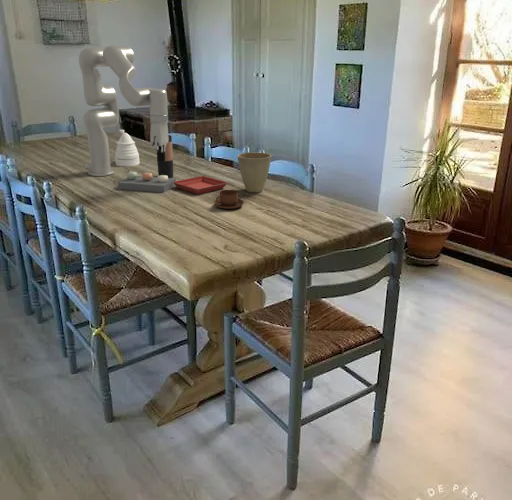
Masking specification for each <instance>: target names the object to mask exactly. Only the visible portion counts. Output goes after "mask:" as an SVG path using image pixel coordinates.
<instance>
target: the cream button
mask: <svg viewBox="0 0 512 500" xmlns="http://www.w3.org/2000/svg"><path fill="white" fill-rule="evenodd" d="M157 177H158V182H168V176H166V175H160V176H159V175H157Z"/></svg>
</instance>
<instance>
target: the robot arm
mask: <svg viewBox="0 0 512 500" xmlns="http://www.w3.org/2000/svg"><path fill="white" fill-rule="evenodd" d="M135 58H136V56H135V53H134V50H133V49H132V48H131V47H130V46H128V45H109V46H104V47H103V46H92V47H85V48H83V49H82V50H81V51H80V53H79V55H78V64H79V69H80V72H81V74H82V75H81V76H82V85H83V86H82V87H83V95H84V101H85V103H86V104H87V105H88V106H91V107H98V108H91V109H88V110H86V111H85V112H84V113H83V117H82V119H83V124H84V127H85V130H86V136H87V144H88V152H89V161H90V164H87V163H86V164H84V166H83V167H84V169H85V170H88V173H87V174H88V175H90V176H91V177H104V176H111V175H113V174H115V170H114V169H113V168H112V167H111V158H110V157H111V156H110V147H109V138H108V134H107V133H106V132H105V130H104V129H107V128H114V127H117V125H118V124H119V122H120V121H119V120H120V112H119V111H120V110H119V101H118V93H117V90H116V89H115V88H114V86H112V85H111V84H103V83H102V82H103V81H102V80H103V79H102V75H101V73H100V70H99V69H98V67H99V68H100V67H101V68H103V67H104V68H105V67H109V68H110V69H111V71H112V72H113V73H114V74H115V75H116V76H117V78H118V87H119V88H118V89H119V91H120V94H121V95H122V97H123V98H124V99H125V100H126V102H128V103H129V105H130V106H132V107H143V106H146V107H147V106H149V114H150V115H149V116H150V117H149V119H150V134H149V135H150V145H151V146H152V147H154V150H155V151H156V162H157V161H165V146H166V145H167V143H168V141H169V135H170V134H169V127H168V123H169V115H168V114H169V113H168V92H167V91H166V90H165V89H164V88H155V87H136V88H135V87H134V86H133V84H132V83H131V82H130V81H132V80H133V79H134V78H135V76H136V73H137V69H136V67H135V65H133V64H134V62H135ZM99 106H103V107H100V108H99ZM158 144H159V145H158Z"/></svg>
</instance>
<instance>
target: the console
mask: <svg viewBox="0 0 512 500" xmlns="http://www.w3.org/2000/svg"><path fill="white" fill-rule="evenodd" d="M175 181H177V178H174V177H172V178H168V182H158V176H153V179H150V180H144V179H142V175H137V178H135V179H129V178H127V177H125V179H122V180H121V181H119V182H118V190H127V191H128V190H129V191H138V192H139V191H140V192H151V191H152V192H153V193H155V192H156V193H166V192H167V191H169V190H171V189H172V188H174V187H175V186H176V185H175V184H174V183H173V182H175ZM173 186H174V187H173ZM170 188H171V189H170ZM152 192H151V193H152Z"/></svg>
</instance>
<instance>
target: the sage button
mask: <svg viewBox="0 0 512 500" xmlns="http://www.w3.org/2000/svg"><path fill="white" fill-rule="evenodd" d="M137 176H138V172H137V171H128V172H126V178H129V179H135V178H137Z"/></svg>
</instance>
